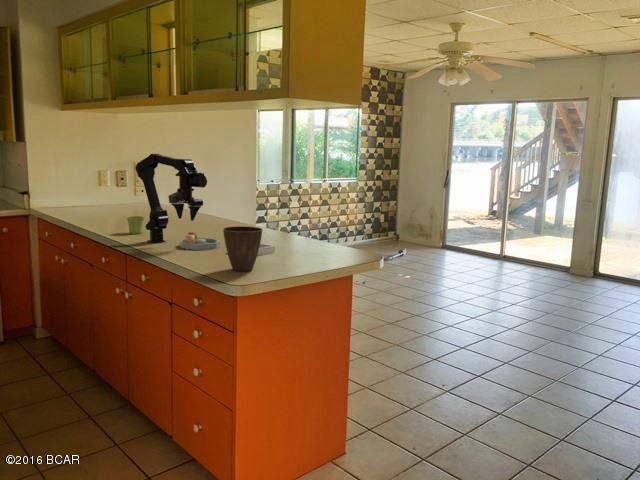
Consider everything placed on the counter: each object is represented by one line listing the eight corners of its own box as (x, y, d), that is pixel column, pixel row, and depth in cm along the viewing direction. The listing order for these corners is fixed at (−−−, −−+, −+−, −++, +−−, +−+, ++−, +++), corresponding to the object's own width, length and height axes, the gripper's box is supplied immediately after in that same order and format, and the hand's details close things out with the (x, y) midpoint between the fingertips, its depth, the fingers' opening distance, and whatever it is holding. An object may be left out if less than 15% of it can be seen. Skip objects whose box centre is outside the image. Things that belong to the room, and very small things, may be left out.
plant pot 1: (122, 233, 280) (122, 217, 279) (133, 231, 289) (132, 215, 288) (138, 235, 278) (138, 218, 277) (148, 232, 287) (148, 216, 286)
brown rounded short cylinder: (186, 243, 255) (186, 232, 255) (193, 242, 258) (193, 232, 258) (191, 244, 253) (191, 233, 252) (198, 243, 256) (198, 233, 255)
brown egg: (191, 244, 251) (190, 234, 250) (196, 246, 249) (196, 235, 248) (184, 245, 248) (183, 235, 247) (189, 247, 245) (189, 236, 245)
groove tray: (172, 245, 251) (172, 239, 251) (202, 241, 265) (202, 235, 264) (196, 251, 240) (196, 244, 240) (226, 246, 254) (226, 240, 253)
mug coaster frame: (228, 252, 240) (228, 245, 240) (253, 248, 253) (253, 241, 252) (249, 257, 232) (249, 250, 231) (275, 252, 244) (275, 246, 243)
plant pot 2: (217, 267, 210) (217, 226, 207) (253, 264, 217) (253, 225, 214) (230, 275, 197) (230, 232, 194) (267, 272, 204) (268, 230, 202)
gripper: (158, 185, 247) (159, 218, 250) (183, 188, 236) (184, 223, 239) (178, 184, 256) (179, 217, 259) (203, 187, 245) (204, 221, 247)
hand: (186, 219), depth 250 cm, fingers open, 9 cm apart
